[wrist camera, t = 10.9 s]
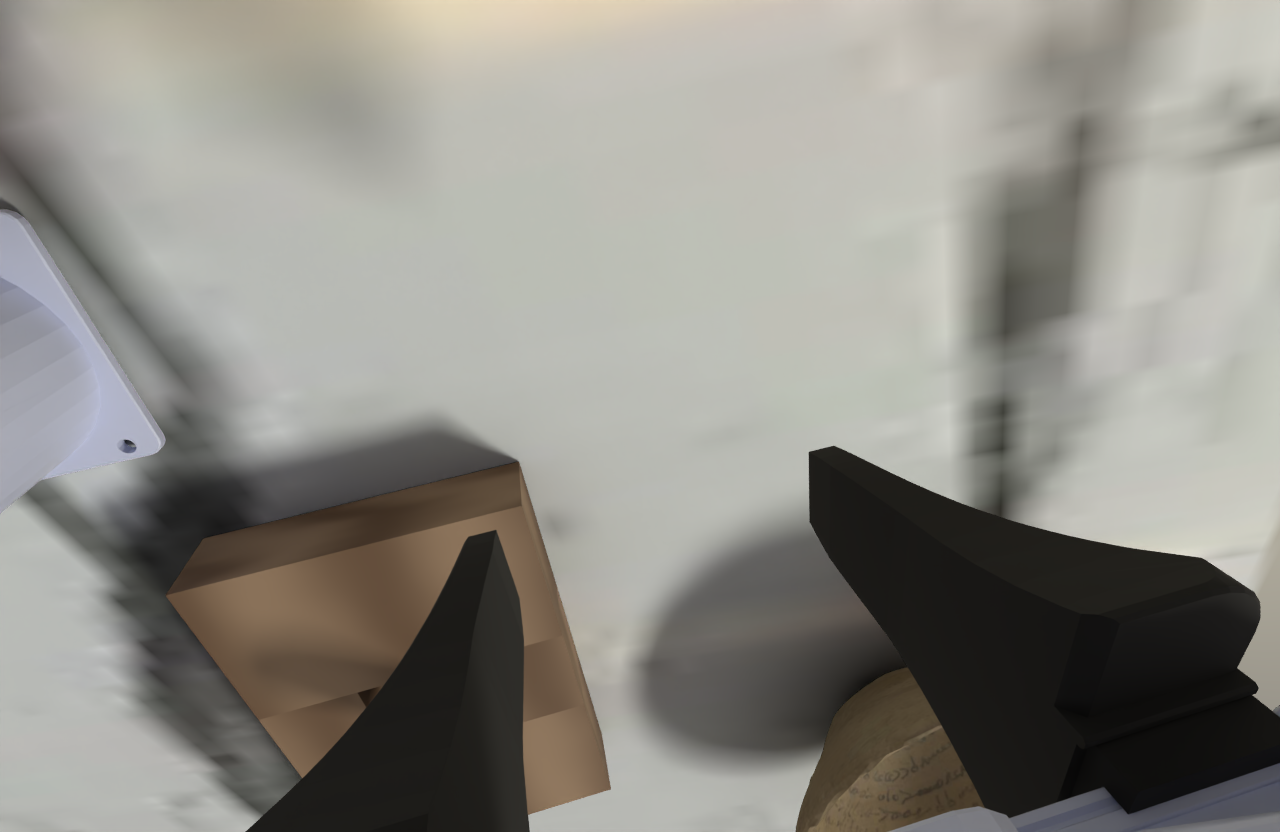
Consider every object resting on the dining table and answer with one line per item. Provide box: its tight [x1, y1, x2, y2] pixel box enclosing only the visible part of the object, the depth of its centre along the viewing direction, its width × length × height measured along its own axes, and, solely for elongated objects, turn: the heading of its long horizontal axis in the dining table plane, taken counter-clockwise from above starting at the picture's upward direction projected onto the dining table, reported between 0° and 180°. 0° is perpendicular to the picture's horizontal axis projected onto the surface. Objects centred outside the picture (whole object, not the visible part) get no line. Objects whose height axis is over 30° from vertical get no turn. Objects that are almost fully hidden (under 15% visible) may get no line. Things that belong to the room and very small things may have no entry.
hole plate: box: [166, 462, 611, 815], centre depth 26 cm, size 12×18×3 cm, turn 9°
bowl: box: [796, 667, 985, 832], centre depth 33 cm, size 18×18×8 cm
